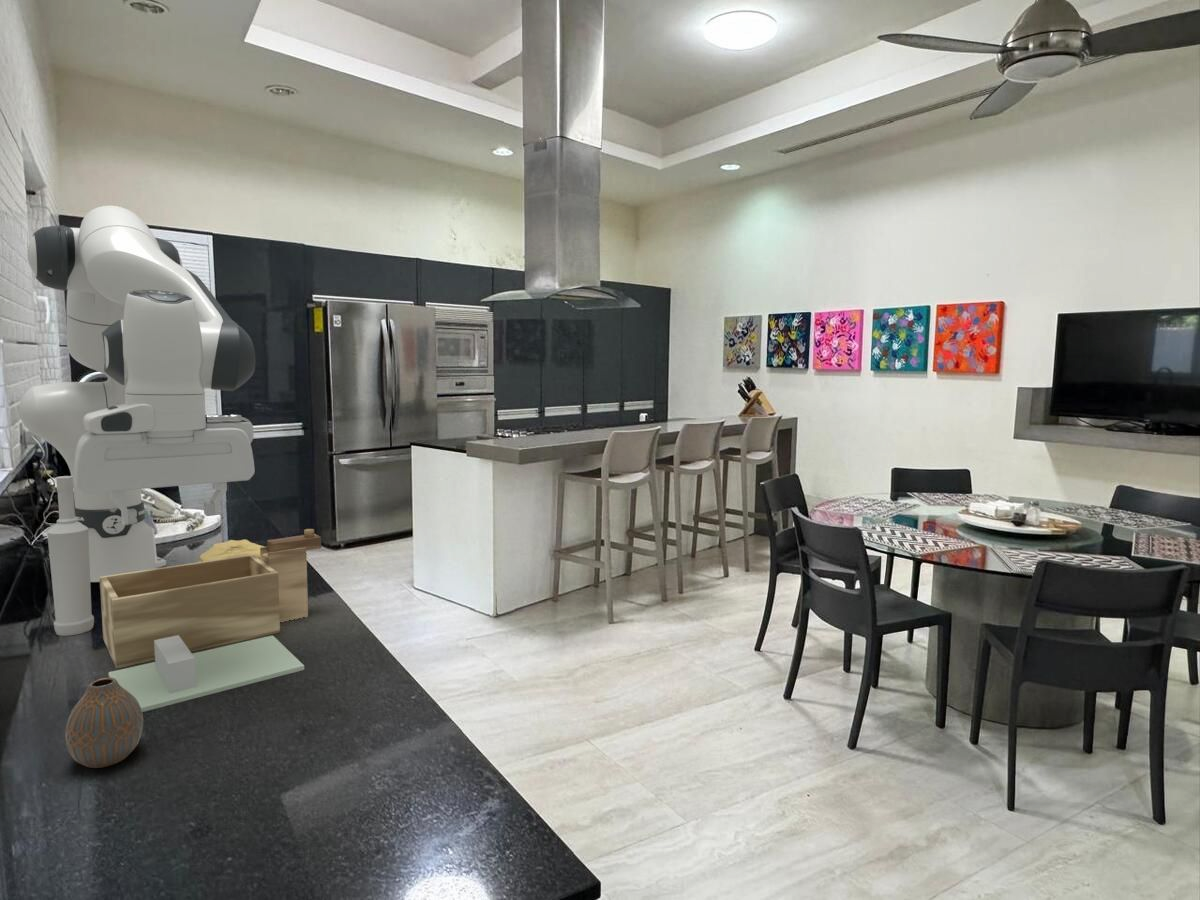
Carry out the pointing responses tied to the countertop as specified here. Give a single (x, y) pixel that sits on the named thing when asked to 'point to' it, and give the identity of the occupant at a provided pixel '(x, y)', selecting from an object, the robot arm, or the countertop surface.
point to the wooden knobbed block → (295, 542)
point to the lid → (203, 670)
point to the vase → (104, 725)
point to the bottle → (70, 566)
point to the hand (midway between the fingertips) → (172, 519)
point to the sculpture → (231, 550)
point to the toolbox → (202, 603)
